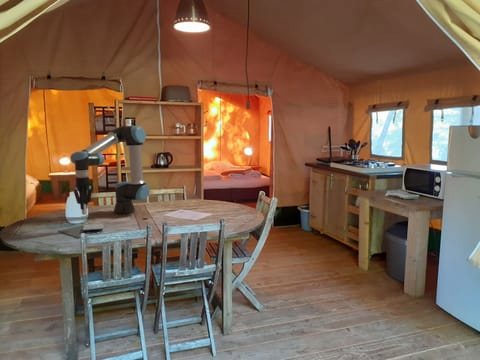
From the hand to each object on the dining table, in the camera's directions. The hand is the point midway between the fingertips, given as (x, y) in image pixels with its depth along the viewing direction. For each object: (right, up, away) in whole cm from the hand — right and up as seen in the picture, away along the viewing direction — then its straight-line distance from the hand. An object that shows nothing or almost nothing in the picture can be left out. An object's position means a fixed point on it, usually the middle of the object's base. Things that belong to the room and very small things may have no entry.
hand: (84, 214), depth 231 cm
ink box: (+4, -8, +6) cm, 11 cm away
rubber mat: (-2, -11, -1) cm, 11 cm away
